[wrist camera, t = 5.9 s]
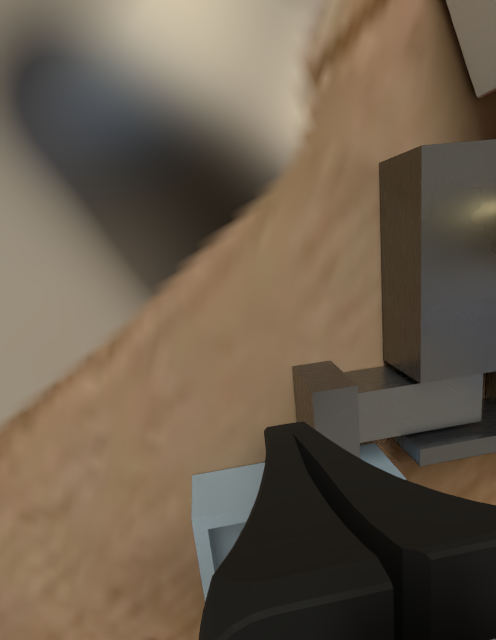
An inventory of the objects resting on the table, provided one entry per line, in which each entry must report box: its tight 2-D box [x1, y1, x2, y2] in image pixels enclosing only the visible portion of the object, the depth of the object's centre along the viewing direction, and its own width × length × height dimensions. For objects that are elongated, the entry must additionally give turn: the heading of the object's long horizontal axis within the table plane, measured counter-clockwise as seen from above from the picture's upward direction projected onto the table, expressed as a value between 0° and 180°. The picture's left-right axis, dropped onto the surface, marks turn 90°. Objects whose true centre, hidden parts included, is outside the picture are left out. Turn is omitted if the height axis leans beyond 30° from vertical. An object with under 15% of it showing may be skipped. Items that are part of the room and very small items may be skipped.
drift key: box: [293, 361, 483, 459], centre depth 14 cm, size 3×7×3 cm, turn 96°
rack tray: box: [192, 443, 406, 601], centre depth 15 cm, size 8×8×2 cm
